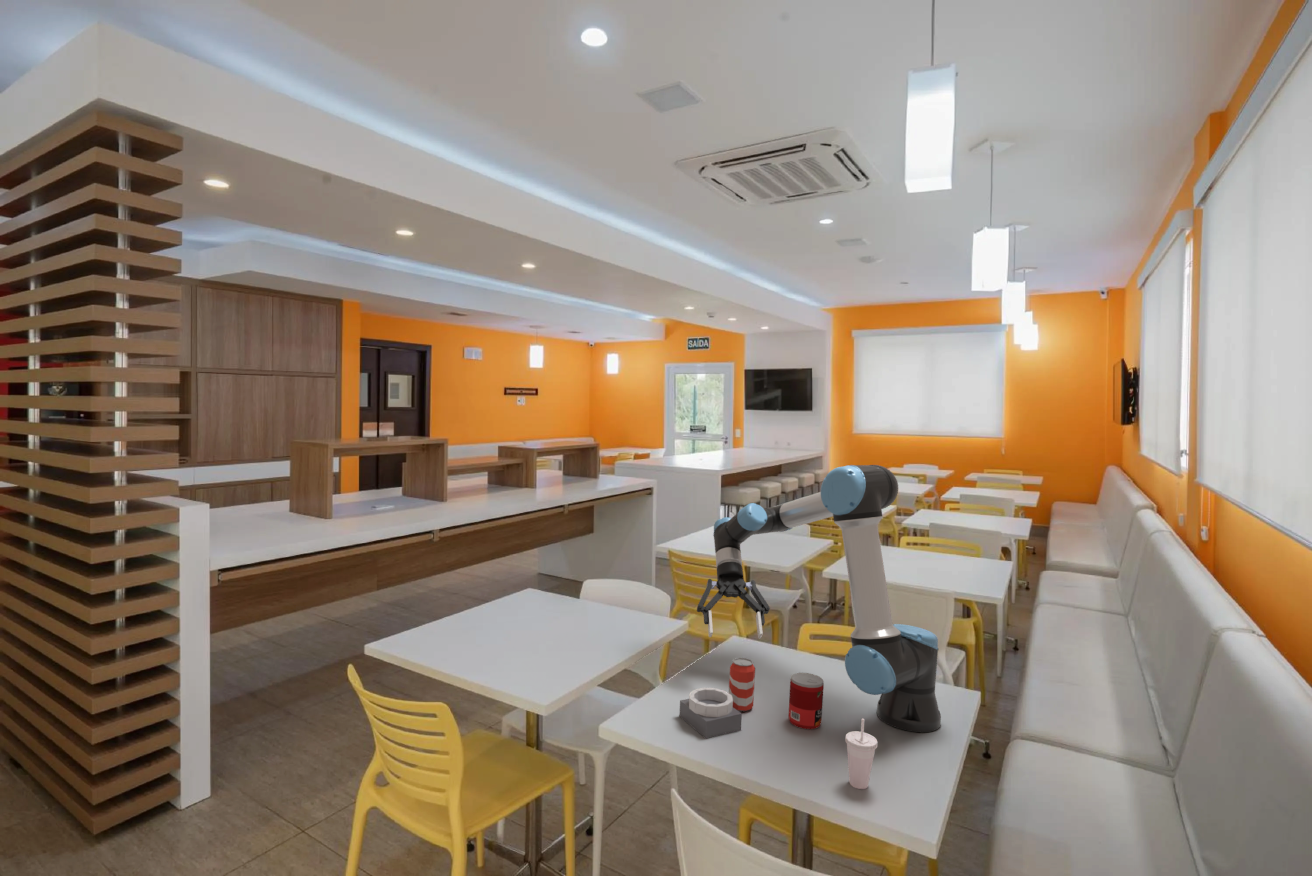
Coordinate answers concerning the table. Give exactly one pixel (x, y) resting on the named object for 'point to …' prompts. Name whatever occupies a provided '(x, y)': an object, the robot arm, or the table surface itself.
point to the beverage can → (742, 683)
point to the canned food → (806, 700)
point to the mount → (710, 712)
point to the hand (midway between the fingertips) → (735, 635)
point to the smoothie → (860, 757)
